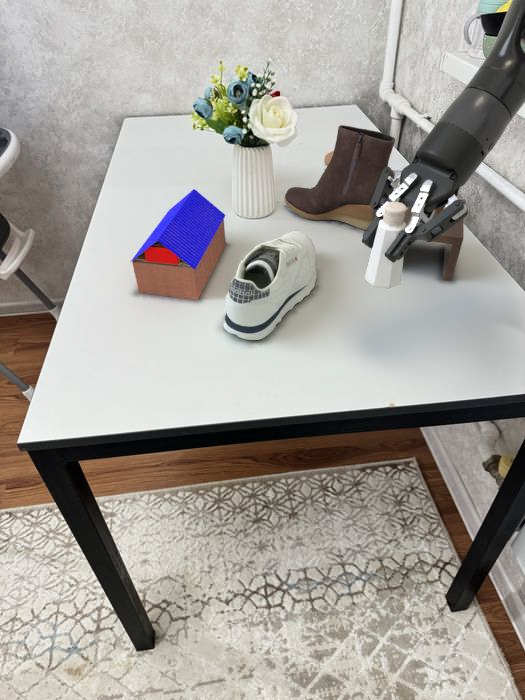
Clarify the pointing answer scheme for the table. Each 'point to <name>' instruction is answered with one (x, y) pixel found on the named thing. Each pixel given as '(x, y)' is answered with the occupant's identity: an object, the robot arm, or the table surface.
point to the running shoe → (270, 285)
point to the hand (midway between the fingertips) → (377, 251)
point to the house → (181, 249)
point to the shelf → (447, 242)
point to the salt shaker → (388, 229)
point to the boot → (346, 179)
